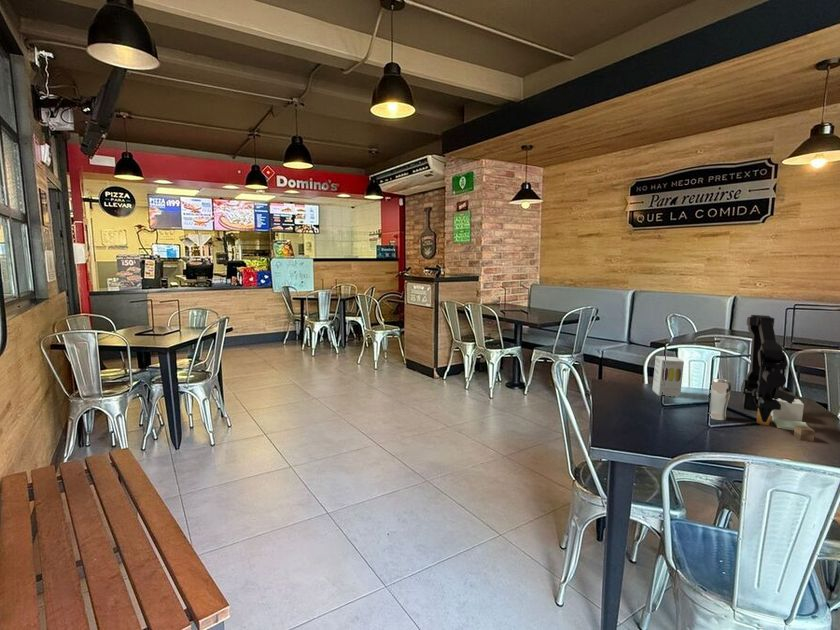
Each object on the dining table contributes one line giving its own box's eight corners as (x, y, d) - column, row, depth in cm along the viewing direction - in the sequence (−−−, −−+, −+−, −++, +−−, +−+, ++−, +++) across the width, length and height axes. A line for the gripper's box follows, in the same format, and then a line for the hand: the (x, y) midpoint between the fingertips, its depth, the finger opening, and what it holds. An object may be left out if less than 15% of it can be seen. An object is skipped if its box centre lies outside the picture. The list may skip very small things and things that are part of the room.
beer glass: (725, 416, 182) (729, 379, 180) (729, 422, 175) (733, 384, 173) (705, 413, 185) (709, 377, 183) (708, 419, 178) (711, 381, 176)
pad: (777, 427, 170) (777, 425, 170) (772, 419, 179) (772, 417, 179) (811, 433, 165) (812, 431, 165) (804, 424, 174) (805, 422, 174)
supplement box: (658, 396, 207) (661, 359, 204) (651, 390, 216) (654, 355, 213) (681, 397, 205) (684, 360, 203) (673, 391, 214) (676, 356, 212)
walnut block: (800, 440, 159) (801, 429, 158) (793, 436, 163) (795, 425, 162) (813, 441, 158) (814, 430, 157) (806, 437, 162) (808, 426, 161)
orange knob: (757, 423, 174) (759, 408, 173) (755, 420, 177) (757, 405, 177) (770, 425, 172) (772, 410, 171) (768, 422, 175) (770, 407, 175)
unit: (772, 417, 181) (774, 399, 180) (769, 412, 187) (771, 394, 186) (802, 422, 176) (805, 403, 175) (798, 416, 182) (800, 398, 181)
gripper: (801, 390, 160) (795, 432, 163) (789, 377, 177) (784, 416, 179) (762, 385, 166) (757, 426, 168) (754, 373, 182) (749, 411, 184)
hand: (763, 420), depth 175 cm, fingers closed on orange knob, 4 cm apart
